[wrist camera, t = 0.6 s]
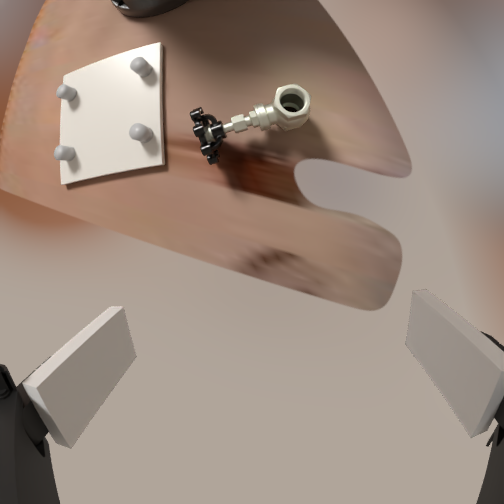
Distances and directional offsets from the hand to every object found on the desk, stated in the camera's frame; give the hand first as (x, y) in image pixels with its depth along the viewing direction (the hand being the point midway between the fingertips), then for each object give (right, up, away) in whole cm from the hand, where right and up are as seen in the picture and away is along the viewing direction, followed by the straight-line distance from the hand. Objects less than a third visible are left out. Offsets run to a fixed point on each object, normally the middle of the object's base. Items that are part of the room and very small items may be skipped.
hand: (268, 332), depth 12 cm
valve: (0, +18, +20) cm, 27 cm away
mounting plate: (-20, +22, +20) cm, 35 cm away
